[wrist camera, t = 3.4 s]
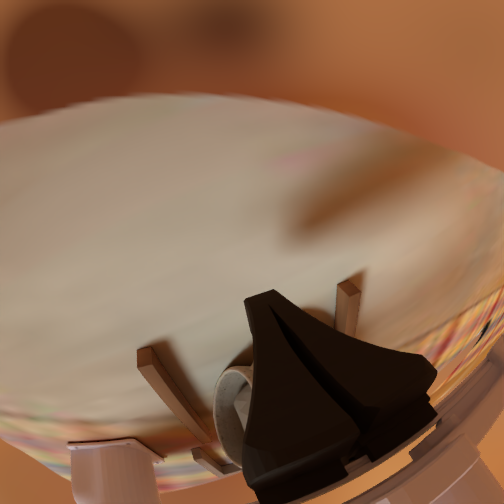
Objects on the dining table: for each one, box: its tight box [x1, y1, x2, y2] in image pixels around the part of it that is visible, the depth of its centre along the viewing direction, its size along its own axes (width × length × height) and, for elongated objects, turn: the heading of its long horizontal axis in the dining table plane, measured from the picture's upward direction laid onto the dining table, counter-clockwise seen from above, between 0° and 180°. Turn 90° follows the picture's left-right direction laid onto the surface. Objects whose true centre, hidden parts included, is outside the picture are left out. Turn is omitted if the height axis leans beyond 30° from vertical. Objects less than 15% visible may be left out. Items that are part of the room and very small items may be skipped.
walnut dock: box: [137, 280, 361, 444], centre depth 20 cm, size 15×14×2 cm
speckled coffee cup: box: [213, 360, 254, 468], centre depth 17 cm, size 11×8×8 cm
